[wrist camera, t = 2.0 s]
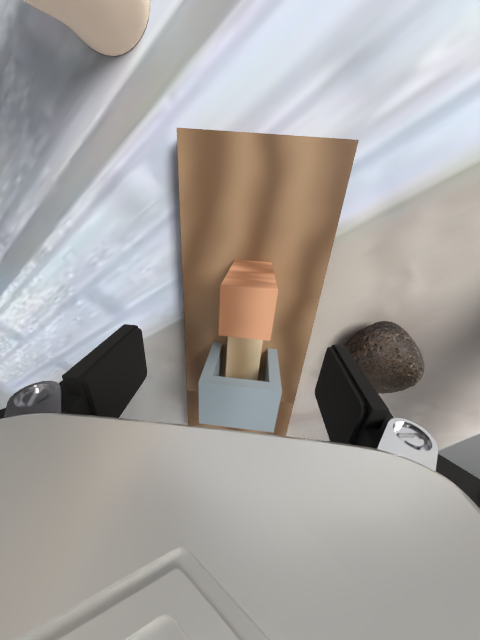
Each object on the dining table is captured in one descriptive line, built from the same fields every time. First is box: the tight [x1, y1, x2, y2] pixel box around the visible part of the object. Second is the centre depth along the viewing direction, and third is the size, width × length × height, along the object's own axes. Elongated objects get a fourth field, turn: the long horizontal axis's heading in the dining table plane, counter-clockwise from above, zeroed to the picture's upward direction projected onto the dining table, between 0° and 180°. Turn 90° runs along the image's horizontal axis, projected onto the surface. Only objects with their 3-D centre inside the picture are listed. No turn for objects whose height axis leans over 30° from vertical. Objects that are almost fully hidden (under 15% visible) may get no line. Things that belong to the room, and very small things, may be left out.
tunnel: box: [199, 342, 282, 433], centre depth 27 cm, size 8×6×8 cm
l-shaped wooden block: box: [219, 259, 278, 381], centre depth 24 cm, size 4×18×10 cm, turn 175°
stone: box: [345, 321, 424, 393], centre depth 28 cm, size 10×8×10 cm
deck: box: [177, 128, 358, 436], centre depth 29 cm, size 16×39×2 cm, turn 176°
